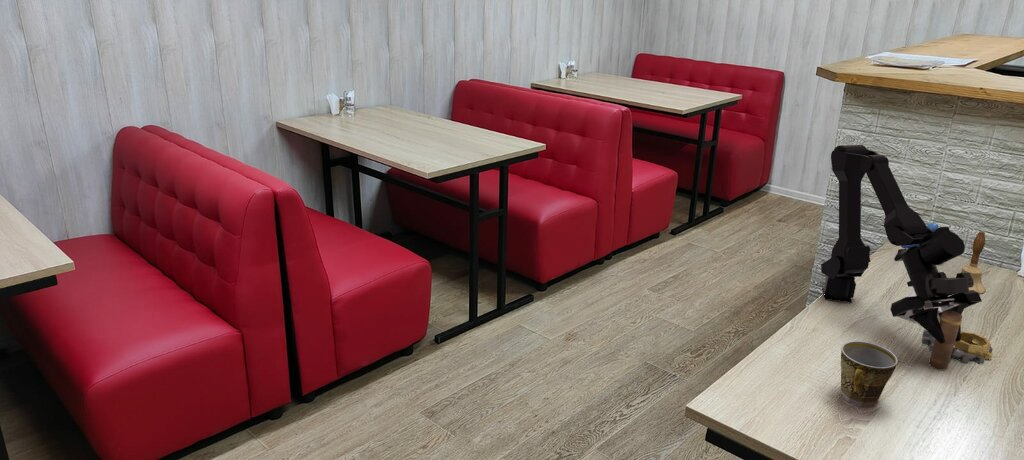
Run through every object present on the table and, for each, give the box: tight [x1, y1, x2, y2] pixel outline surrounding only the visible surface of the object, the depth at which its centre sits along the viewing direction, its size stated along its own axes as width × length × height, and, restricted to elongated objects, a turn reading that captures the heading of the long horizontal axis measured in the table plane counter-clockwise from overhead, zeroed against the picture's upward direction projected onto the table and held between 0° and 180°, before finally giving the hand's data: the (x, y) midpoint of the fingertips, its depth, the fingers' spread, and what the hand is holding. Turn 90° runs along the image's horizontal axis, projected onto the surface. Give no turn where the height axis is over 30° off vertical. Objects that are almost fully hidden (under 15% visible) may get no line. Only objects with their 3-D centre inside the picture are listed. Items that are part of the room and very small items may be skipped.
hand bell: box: [960, 230, 986, 295], centre depth 188 cm, size 8×8×16 cm
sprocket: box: [921, 329, 994, 364], centre depth 160 cm, size 14×14×3 cm
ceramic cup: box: [840, 340, 899, 408], centre depth 139 cm, size 13×10×10 cm
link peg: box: [928, 310, 963, 371], centre depth 151 cm, size 4×4×12 cm
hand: (950, 342), depth 150 cm, fingers closed on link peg, 4 cm apart
